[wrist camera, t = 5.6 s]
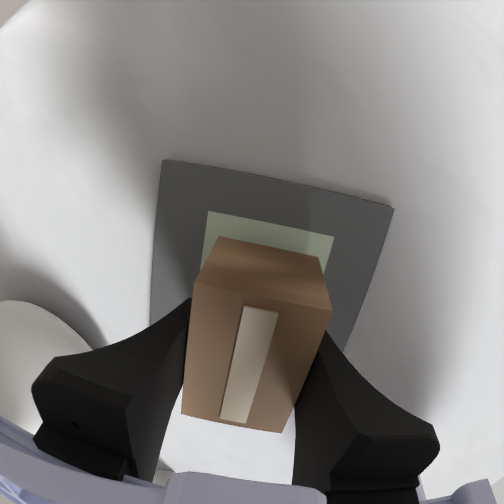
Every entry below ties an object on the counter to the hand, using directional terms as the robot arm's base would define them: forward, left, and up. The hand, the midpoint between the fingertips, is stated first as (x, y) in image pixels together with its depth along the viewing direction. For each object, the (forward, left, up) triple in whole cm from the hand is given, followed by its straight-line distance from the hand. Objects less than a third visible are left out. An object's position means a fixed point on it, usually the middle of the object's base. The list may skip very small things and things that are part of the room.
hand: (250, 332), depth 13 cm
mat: (0, 0, -3) cm, 3 cm away
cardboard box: (0, 0, -2) cm, 2 cm away
